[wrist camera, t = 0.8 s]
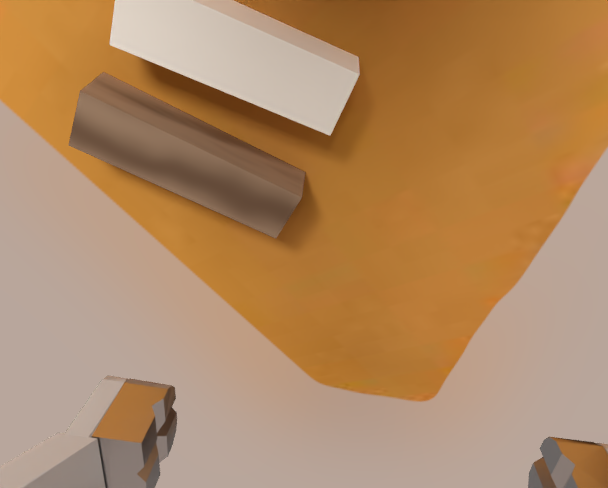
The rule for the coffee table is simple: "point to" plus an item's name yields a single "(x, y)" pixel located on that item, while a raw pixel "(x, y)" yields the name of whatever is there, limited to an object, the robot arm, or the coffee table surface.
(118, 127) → the brown wooden block
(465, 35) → the coffee table surface
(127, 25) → the cream floor plank
